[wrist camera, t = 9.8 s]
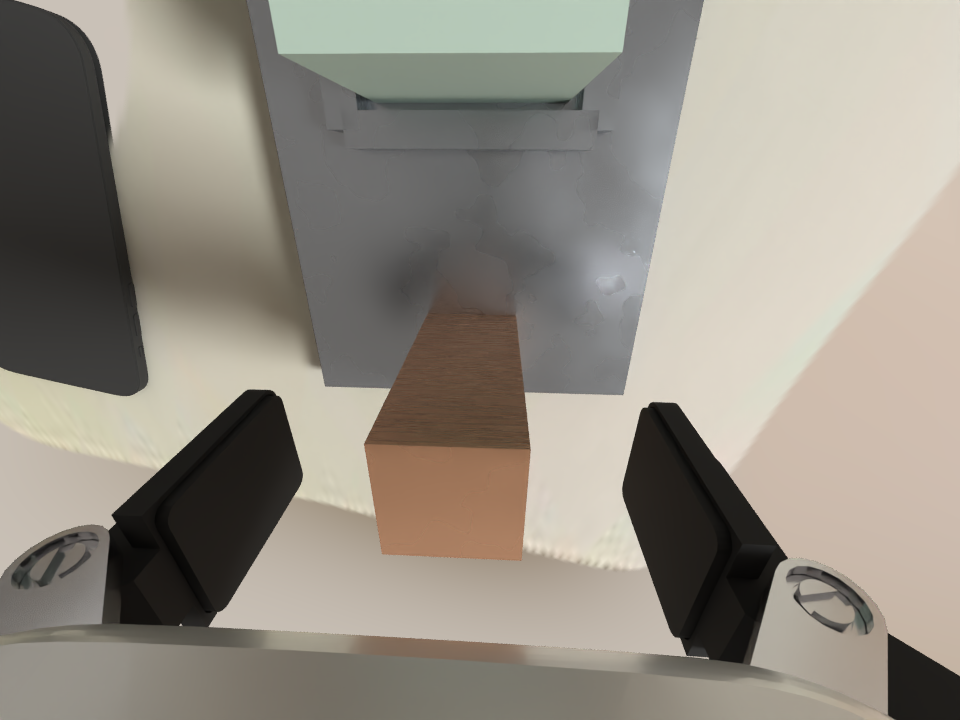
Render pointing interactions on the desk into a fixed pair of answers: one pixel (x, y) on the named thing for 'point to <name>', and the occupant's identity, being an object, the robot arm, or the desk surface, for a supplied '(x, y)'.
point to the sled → (476, 264)
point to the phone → (61, 213)
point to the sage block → (453, 46)
